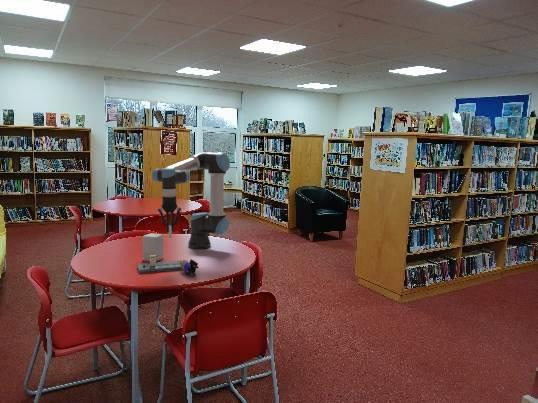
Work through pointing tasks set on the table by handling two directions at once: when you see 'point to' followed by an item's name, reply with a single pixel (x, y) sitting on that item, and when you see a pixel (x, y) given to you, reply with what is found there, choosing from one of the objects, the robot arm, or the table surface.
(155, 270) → the panel
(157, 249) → the supplement box
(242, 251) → the table surface
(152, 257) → the block
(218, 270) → the table surface
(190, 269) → the character figurine
